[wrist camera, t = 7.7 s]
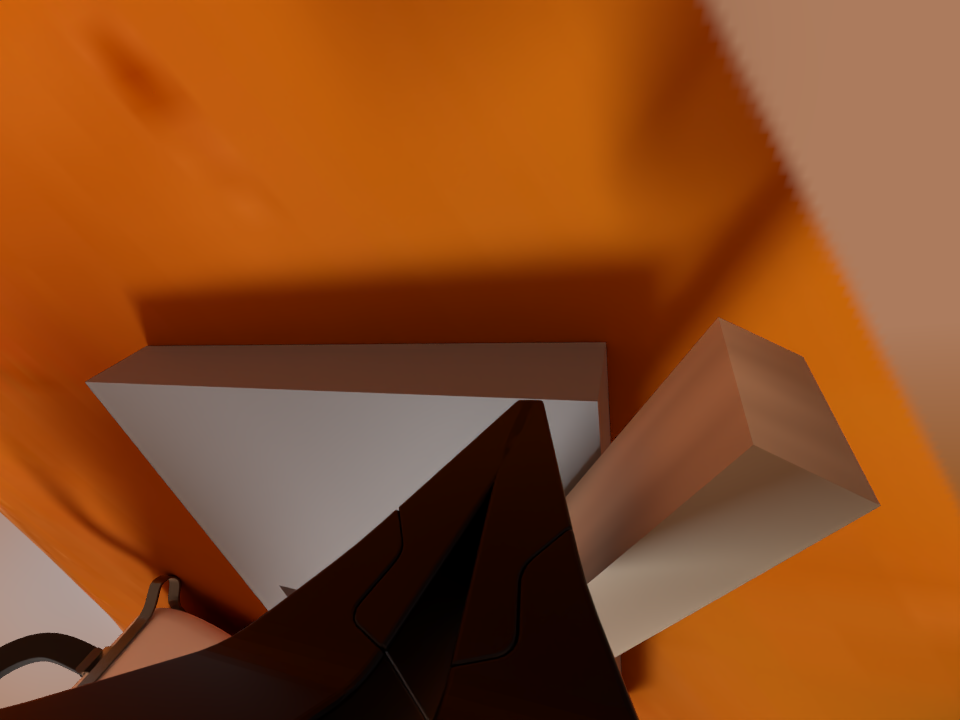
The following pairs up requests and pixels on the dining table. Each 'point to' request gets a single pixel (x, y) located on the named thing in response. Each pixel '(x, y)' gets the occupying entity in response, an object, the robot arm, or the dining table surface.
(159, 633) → the coffee press
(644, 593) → the lever
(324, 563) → the board
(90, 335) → the dining table surface
